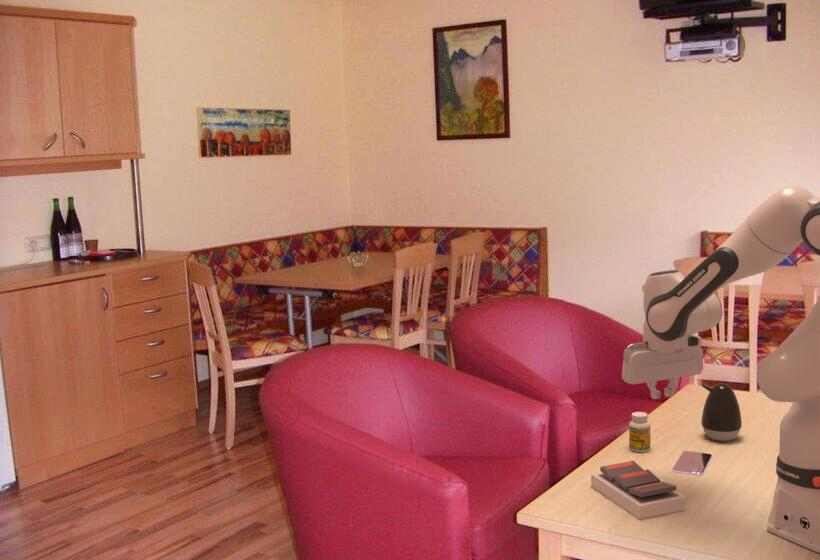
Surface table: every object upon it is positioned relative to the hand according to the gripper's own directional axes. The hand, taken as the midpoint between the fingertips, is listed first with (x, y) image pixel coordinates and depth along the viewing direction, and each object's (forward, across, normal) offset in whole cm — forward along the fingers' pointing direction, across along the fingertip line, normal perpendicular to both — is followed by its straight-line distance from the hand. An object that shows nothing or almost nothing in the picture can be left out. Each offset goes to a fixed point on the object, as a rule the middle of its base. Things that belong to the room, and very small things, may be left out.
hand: (662, 397), depth 212 cm
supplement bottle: (+21, +8, +21) cm, 31 cm away
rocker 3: (+17, -10, -11) cm, 23 cm away
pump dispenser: (+21, +32, +19) cm, 43 cm away
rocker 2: (+17, -10, -5) cm, 20 cm away
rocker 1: (+17, -10, +1) cm, 20 cm away
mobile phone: (+22, +14, +7) cm, 27 cm away
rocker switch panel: (+21, -10, -5) cm, 24 cm away
